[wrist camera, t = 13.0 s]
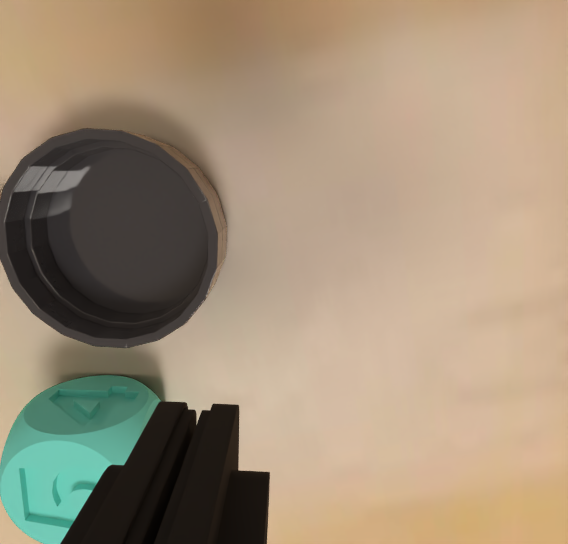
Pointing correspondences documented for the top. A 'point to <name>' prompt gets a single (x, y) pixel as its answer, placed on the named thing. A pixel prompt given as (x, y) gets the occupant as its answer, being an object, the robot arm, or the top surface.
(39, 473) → the decorative dice
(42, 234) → the pan
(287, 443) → the top surface
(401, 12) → the top surface
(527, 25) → the top surface
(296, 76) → the top surface
